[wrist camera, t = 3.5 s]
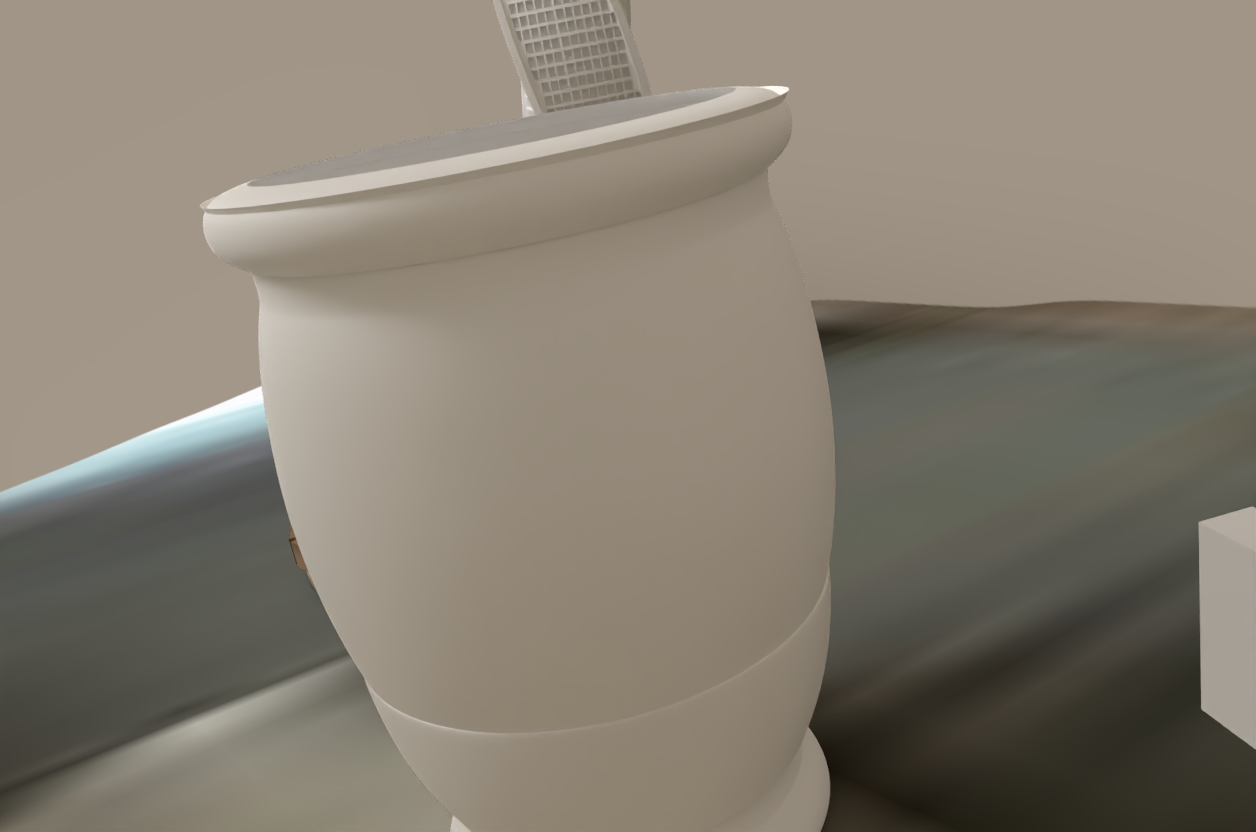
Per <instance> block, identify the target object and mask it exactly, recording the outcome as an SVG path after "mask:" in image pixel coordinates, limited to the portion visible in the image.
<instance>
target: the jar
mask: <svg viewBox="0 0 1256 832" xmlns="http://www.w3.org/2000/svg"><path fill="white" fill-rule="evenodd" d="M788 90H789V88H787V87H783V86H764V87H746V86H737V87H718V88H705V89H696V90H688V91H680V92H672V93H665V94H658V95H651V96H645V97H638V98H632V99H625V100H619V101H613V102H607V103H601V104H595V105H589V106H584V107H578V108H572V109H567V110H561V111H556V112H550V113H545V114H539V115H534V116H529V117H523V118H518V119H513V120H508V121H503V122H497V123H492V124H487V125H483V126H477V127H472V128H467V129H462V130H457V131H452V132H447V133H443V134H438V135H433V136H428V137H424V138H419V139H414V140H410V141H405V142H401V143H396V144H391V145H387V146H382V147H378V148H373V149H369V150H364V151H360V152H356V153H351V154H347V155H343V156H339V157H335V158H331V159H326V160H322V161H318V162H314V163H311V164H306V165H303V166H299V167H295V168H292V169H288V170H284V171H281V172H277V173H274V174H271V175H267V176H264V177H261V178H259V179H255V180H253V181H250V182H247V183H244V184H242V185H239V186H237V187H234V188H232V189H230V190H228V191H226V192H224V193H222V194H221V195H219V196H216V197H214V198H211V199H209V200H207V201H204V202H203V203H201V204H200V205H199V206H200V208H201V209H203V210H204V211H205V213H204V217H203V230H204V234H205V238H206V240H207V242H208V245H209V247H210V248H211V250H212V251H213V252H214V253H215V254H216V255H217V256H218V257H219V258H220V259H221V260H223V261H225V262H226V263H228V264H230V265H232V266H234V267H236V268H238V269H241V270H244V271H246V272H249V273H251V275H252V277H253V280H254V282H255V285H256V288H257V292H258V296H259V300H260V308H259V362H260V374H261V384H262V392H263V399H264V406H265V413H266V419H267V425H268V431H269V436H270V442H271V447H272V452H273V456H274V461H275V466H276V470H277V474H278V479H279V483H280V487H281V491H282V494H283V498H284V502H285V505H286V509H287V512H288V515H289V519H290V522H291V525H292V528H293V531H294V534H295V537H296V540H297V543H298V546H299V548H300V551H301V554H302V557H303V559H304V562H305V564H306V567H307V569H308V572H309V574H310V577H311V579H312V581H313V584H314V586H315V588H316V590H317V593H318V595H319V597H320V599H321V601H322V604H323V606H324V608H325V610H326V612H327V614H328V616H329V618H330V620H331V622H332V624H333V626H334V628H335V629H336V631H337V633H338V635H339V637H340V639H341V640H342V642H343V644H344V646H345V647H346V649H347V651H348V653H349V654H350V656H351V658H352V659H353V661H354V663H355V664H356V666H357V667H358V669H359V671H360V672H361V674H362V675H363V677H364V679H365V682H366V685H367V687H368V690H369V692H370V695H371V697H372V699H373V702H374V704H375V706H376V708H377V710H378V712H379V714H380V716H381V718H382V720H383V722H384V724H385V726H386V728H387V730H388V732H389V734H390V735H391V737H392V739H393V741H394V742H395V744H396V746H397V747H398V749H399V751H400V752H401V754H402V755H403V757H404V759H405V760H406V762H407V763H408V765H409V766H410V767H411V769H412V770H413V772H414V773H415V774H416V776H417V777H418V778H419V779H420V781H421V782H422V783H423V784H424V786H425V787H426V788H427V789H428V790H429V791H430V793H431V794H432V795H433V796H434V797H435V798H436V799H437V800H438V801H439V802H440V803H441V804H442V805H443V806H444V807H445V808H446V809H447V810H448V811H449V812H450V813H451V814H452V815H453V817H452V822H451V829H450V832H821V829H822V827H823V824H824V822H825V818H826V815H827V811H828V806H829V800H830V777H829V771H828V766H827V762H826V759H825V756H824V753H823V751H822V749H821V747H820V745H819V743H818V741H817V739H816V737H815V736H814V734H813V733H812V731H811V730H810V728H809V727H808V726H809V723H810V721H811V718H812V715H813V712H814V709H815V706H816V703H817V699H818V696H819V692H820V688H821V684H822V680H823V675H824V670H825V665H826V658H827V651H828V642H829V630H830V610H831V583H830V570H829V558H830V551H831V543H832V534H833V523H834V507H835V451H834V434H833V422H832V412H831V403H830V395H829V388H828V382H827V375H826V369H825V364H824V359H823V353H822V349H821V344H820V339H819V335H818V330H817V326H816V322H815V318H814V314H813V310H812V306H811V302H810V298H809V295H808V291H807V288H806V284H805V281H804V278H803V274H802V271H801V268H800V265H799V262H798V259H797V256H796V253H795V250H794V247H793V245H792V242H791V240H790V237H789V235H788V232H787V230H786V227H785V225H784V223H783V221H782V218H781V216H780V214H779V212H778V210H777V208H776V206H775V204H774V202H773V200H772V198H771V195H770V190H769V182H768V170H767V168H768V167H769V166H770V165H771V164H772V163H773V162H774V161H775V160H776V159H777V158H778V157H779V156H780V154H781V153H782V152H783V150H784V149H785V147H786V145H787V144H788V142H789V139H790V136H791V132H792V118H791V113H790V110H789V107H788V105H787V103H786V102H785V100H784V99H785V97H786V95H787V93H788Z"/></svg>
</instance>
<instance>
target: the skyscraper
mask: <svg viewBox="0 0 1256 832" xmlns="http://www.w3.org/2000/svg"><path fill="white" fill-rule="evenodd" d="M492 1H493V4H494V7H495V10H496V14H497V17H498V20H499V23H500V26H501V28H502V32H503V34H504V37H505V40H506V43H507V46H508V49H509V52H510V54H511V57H512V59H513V62H514V65H515V67H516V70H517V72H518V74H519V78H520V80H521V92H522V108H523V117H529V116H534V115H539V114H545V113H550V112H556V111H561V110H567V109H572V108H578V107H584V106H589V105H595V104H601V103H607V102H613V101H619V100H625V99H632V98H638V97H645V96H651V95H652V93H651V90H650V86H649V83H648V79H647V76H646V72H645V69H644V66H643V63H642V61H641V57H640V54H639V51H638V48H637V45H636V43H635V40H634V37H633V34H632V32H631V15H630V14H631V13H630V0H492Z"/></svg>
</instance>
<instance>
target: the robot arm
mask: <svg viewBox="0 0 1256 832" xmlns="http://www.w3.org/2000/svg"><path fill="white" fill-rule="evenodd" d="M1199 575H1200V652H1201V709H1202V710H1203V711H1204V712H1206V713H1207V714H1208V715H1210V716H1211V717H1212V718H1214V719H1215V720H1216V721H1218V722H1219V723H1221V724H1222V725H1223V726H1225V727H1226V728H1227V729H1229V730H1230V731H1231V732H1233V733H1234V734H1235V735H1237V736H1238V737H1239V738H1241V739H1242V740H1243V741H1245V742H1246V743H1248V744H1249V745H1250V746H1252V747H1253V748H1254V749H1256V508H1254V507H1249V508H1246V509H1242V510H1239V511H1235V512H1232V513H1228V514H1225V515H1221V516H1218V517H1215V518H1211V519H1208V520H1204V521H1201V522H1199Z"/></svg>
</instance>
